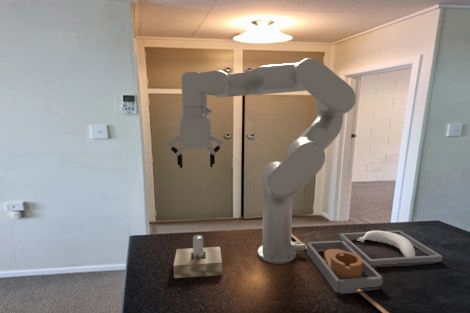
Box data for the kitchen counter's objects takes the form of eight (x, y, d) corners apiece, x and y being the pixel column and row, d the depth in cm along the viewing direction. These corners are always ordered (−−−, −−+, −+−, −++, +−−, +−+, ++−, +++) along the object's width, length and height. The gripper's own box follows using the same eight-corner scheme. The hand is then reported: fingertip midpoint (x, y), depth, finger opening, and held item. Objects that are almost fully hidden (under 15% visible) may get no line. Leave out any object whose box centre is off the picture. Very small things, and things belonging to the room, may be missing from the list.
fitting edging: (342, 249, 100) (342, 240, 99) (382, 290, 77) (383, 278, 76) (306, 251, 98) (306, 242, 98) (336, 294, 76) (337, 281, 75)
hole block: (220, 258, 95) (220, 246, 94) (222, 275, 85) (221, 262, 84) (177, 260, 93) (176, 249, 93) (174, 278, 83) (173, 265, 83)
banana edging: (399, 236, 110) (399, 230, 109) (441, 263, 90) (442, 256, 90) (339, 239, 107) (339, 233, 107) (369, 268, 87) (370, 261, 87)
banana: (426, 262, 90) (381, 264, 89) (389, 239, 108) (352, 241, 107) (427, 247, 89) (381, 249, 88) (390, 227, 108) (352, 228, 107)
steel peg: (203, 264, 91) (202, 234, 89) (203, 269, 88) (202, 239, 86) (194, 265, 90) (193, 235, 89) (193, 270, 87) (192, 239, 86)
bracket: (364, 290, 77) (366, 266, 76) (333, 288, 78) (334, 264, 77) (347, 257, 95) (348, 237, 94) (322, 255, 96) (322, 236, 95)
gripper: (221, 112, 94) (222, 164, 97) (168, 113, 92) (170, 165, 95) (223, 112, 87) (224, 168, 89) (164, 113, 85) (167, 170, 87)
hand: (196, 166), depth 92 cm, fingers open, 9 cm apart
